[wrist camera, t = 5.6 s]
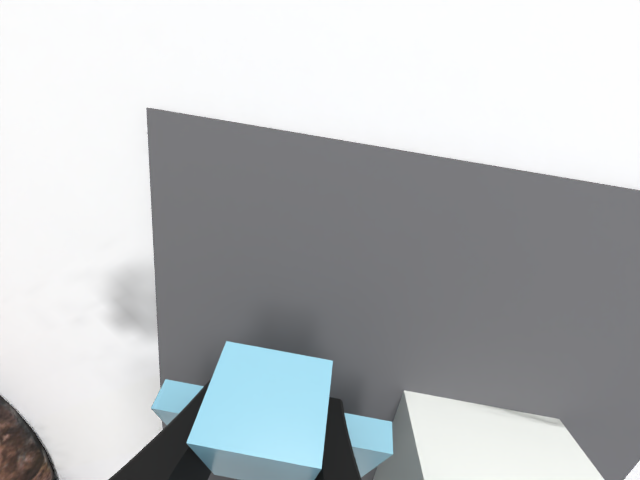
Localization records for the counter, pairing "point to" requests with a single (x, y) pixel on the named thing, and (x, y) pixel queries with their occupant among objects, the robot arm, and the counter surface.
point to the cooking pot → (20, 449)
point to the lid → (269, 416)
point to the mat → (400, 275)
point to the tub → (479, 444)
